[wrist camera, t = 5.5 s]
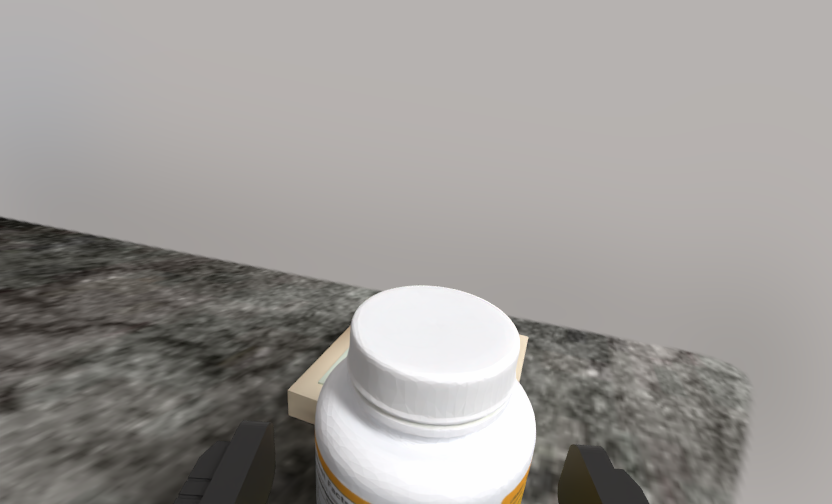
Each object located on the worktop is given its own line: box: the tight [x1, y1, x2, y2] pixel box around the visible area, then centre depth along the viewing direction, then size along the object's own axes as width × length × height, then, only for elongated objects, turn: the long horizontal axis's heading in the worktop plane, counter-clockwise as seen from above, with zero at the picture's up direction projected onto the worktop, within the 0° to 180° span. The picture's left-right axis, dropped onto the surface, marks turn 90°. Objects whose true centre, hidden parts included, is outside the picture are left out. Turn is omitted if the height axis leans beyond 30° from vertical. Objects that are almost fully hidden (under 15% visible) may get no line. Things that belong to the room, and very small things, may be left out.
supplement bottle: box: [315, 285, 536, 504], centre depth 12 cm, size 6×6×10 cm
